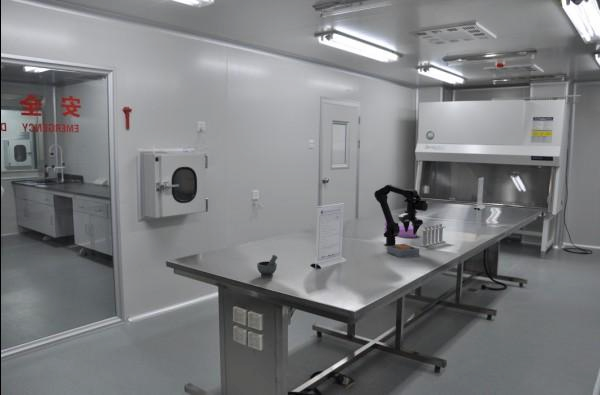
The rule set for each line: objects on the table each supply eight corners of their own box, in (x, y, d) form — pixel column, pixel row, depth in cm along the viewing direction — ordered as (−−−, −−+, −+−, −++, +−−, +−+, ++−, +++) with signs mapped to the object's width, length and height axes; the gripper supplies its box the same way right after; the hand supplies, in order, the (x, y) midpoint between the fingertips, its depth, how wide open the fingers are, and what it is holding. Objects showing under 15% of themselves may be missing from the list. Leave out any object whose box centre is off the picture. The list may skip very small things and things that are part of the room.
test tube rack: (424, 247, 310) (425, 227, 308) (419, 246, 313) (420, 226, 312) (445, 242, 326) (446, 223, 324) (439, 241, 329) (440, 222, 328)
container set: (419, 235, 352) (419, 217, 350) (412, 238, 339) (413, 220, 338) (388, 231, 365) (388, 215, 363) (380, 234, 352) (381, 217, 351)
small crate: (395, 252, 290) (395, 244, 290) (404, 251, 293) (404, 243, 292) (401, 254, 284) (401, 246, 284) (410, 253, 287) (410, 245, 286)
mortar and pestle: (253, 277, 235) (253, 254, 233) (265, 273, 242) (265, 250, 241) (270, 281, 228) (271, 257, 227) (282, 276, 236) (282, 253, 235)
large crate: (387, 252, 293) (387, 246, 292) (405, 250, 298) (405, 244, 297) (400, 257, 280) (400, 250, 279) (419, 255, 285) (419, 249, 285)
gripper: (392, 207, 304) (391, 231, 305) (408, 211, 286) (407, 236, 288) (407, 207, 308) (406, 230, 309) (423, 211, 290) (422, 235, 292)
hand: (410, 233), depth 300 cm, fingers open, 9 cm apart
